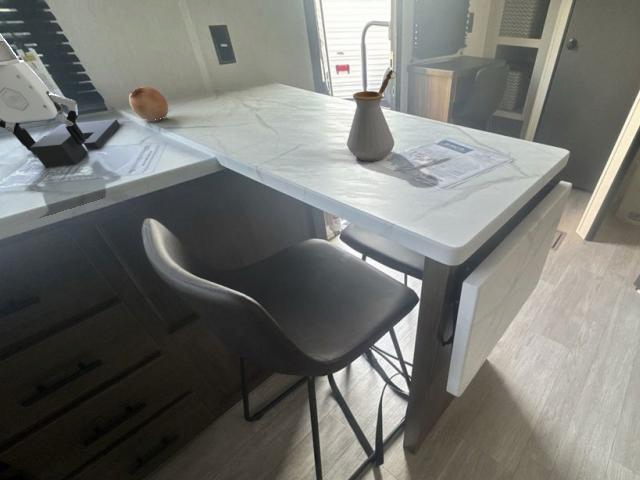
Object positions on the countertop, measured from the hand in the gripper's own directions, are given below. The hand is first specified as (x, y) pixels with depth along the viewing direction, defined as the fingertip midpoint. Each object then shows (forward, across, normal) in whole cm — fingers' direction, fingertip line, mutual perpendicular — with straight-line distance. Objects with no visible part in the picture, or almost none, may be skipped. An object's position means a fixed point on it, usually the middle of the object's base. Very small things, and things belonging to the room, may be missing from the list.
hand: (58, 145), depth 74 cm
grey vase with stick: (+4, +74, -18) cm, 76 cm away
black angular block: (+3, 0, 0) cm, 3 cm away
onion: (+4, +15, +27) cm, 31 cm away
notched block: (+3, -2, +16) cm, 17 cm away
